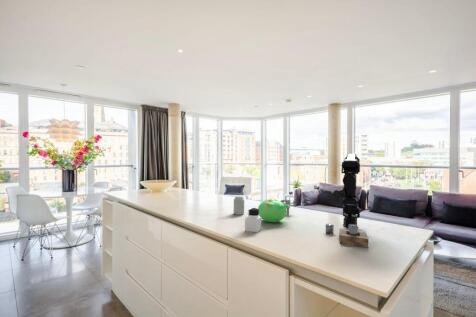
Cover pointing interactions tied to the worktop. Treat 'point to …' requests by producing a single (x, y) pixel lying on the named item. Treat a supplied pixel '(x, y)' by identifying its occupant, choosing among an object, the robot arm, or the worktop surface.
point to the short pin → (329, 228)
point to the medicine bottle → (253, 220)
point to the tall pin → (353, 229)
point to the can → (238, 206)
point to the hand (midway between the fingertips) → (349, 215)
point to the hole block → (353, 238)
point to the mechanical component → (287, 204)
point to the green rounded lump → (272, 210)
